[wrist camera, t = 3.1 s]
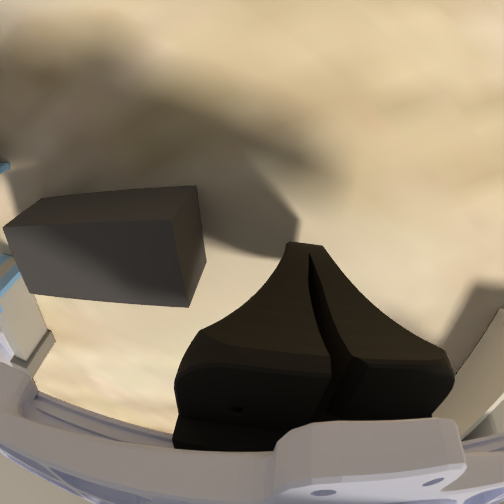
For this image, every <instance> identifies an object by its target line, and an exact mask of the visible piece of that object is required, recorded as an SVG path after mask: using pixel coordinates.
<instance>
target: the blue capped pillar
mask: <svg viewBox="0 0 504 504" xmlns="http://www.w3.org/2000/svg"><path fill="white" fill-rule="evenodd" d="M8 169H10V166H9V163H0V174H1V173H2V172H4V171H6V170H8ZM0 328H1V330H2V332H3V334H4V336H5V338H6V340H7V342H8V343H9V345H10V347H11V349H12V351H13V352H14V356H13V357H12V359H11V360H10V363H11V364H12V366H13V367H14V368H16V369H18V370H20V371H22V372H24V373H25V374H27V375H28V376H29V377H30V378H33V377H34V375H35V373H36V372H37V370H38V369H39V367H40V365H41V364H42V362H43V361H44V359H45V357H46V356H47V354H48V353H49V351H50V350H51V348H52V346H53V345H54V343H55V342H56V341H55V339H54V337H53V334H52V332H51V331H48V329H47V327H46V325H45V322H44V320H43V317H42V315H41V312H40V310H39V307H38V305H37V302H36V300H35V297H34V294H30V293H29V291H28V289H27V287H26V285H25V282H24V280H23V278H22V276H21V273H20V271H19V269H18V266H17V264H16V262H15V259H14V257H13V256H9V255H4V254H3V255H2V256H0Z"/></svg>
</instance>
